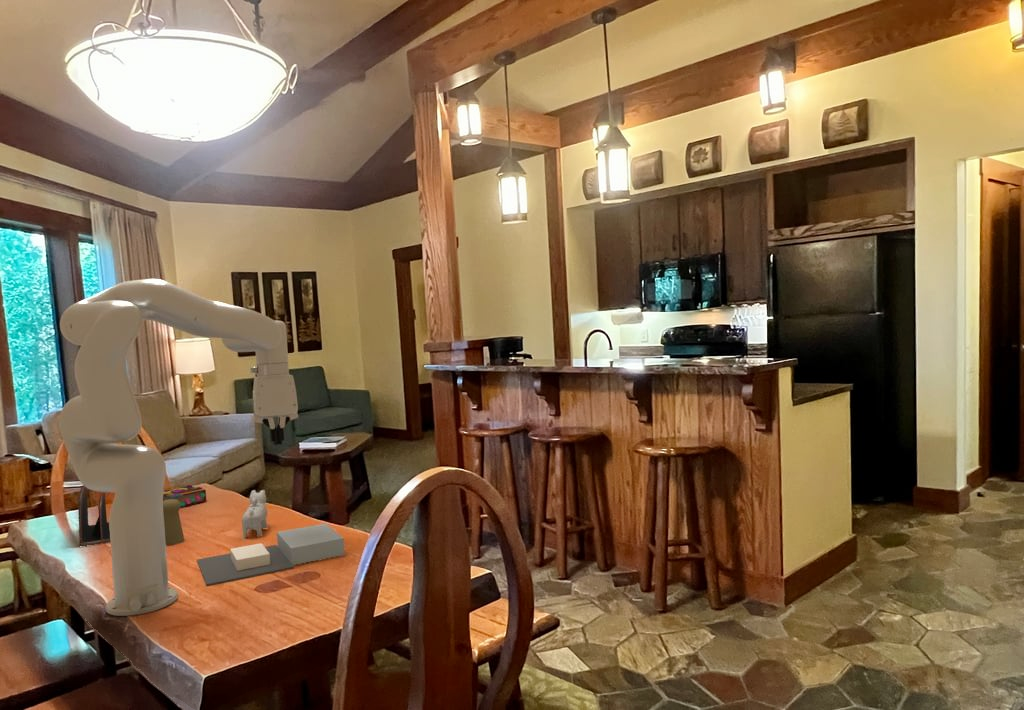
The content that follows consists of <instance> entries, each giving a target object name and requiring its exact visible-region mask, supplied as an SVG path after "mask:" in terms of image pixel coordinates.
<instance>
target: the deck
mask: <svg viewBox="0 0 1024 710" xmlns="http://www.w3.org/2000/svg"><path fill="white" fill-rule="evenodd" d="M276 539H277V541H276V542H277V546H278V548H279V549H280V550H281V551H282V552H283V554H284V555H285V556H286V557H287V559H288V560H289V561H290V562H291V563H292V565H294V566H297V565H296V564H299V565H302V564H301V563H304V564H307V563H306V562H309V563H311V562H310V561H314V562H316V561H315V560H318V561H321V560H320V559H323V560H327V559H326V558H328V559H331V557H333V558H338V557H342V556H345V555H346V554H345V539H344V537H343V536H342V535H341V534H340V533H338V532H337V531H336V530H335V529H333V528H332V527H331V526H329V524H327V523H326V522H325V523H321V524H316V525H309V526H304V527H299V528H297V527H296V528H293V529H287V530H282V531H276ZM337 556H338V557H337Z"/></svg>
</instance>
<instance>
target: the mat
mask: <svg viewBox="0 0 1024 710" xmlns="http://www.w3.org/2000/svg"><path fill="white" fill-rule="evenodd" d="M264 547H265V548H266V550H267V551H268V552H269V554H270V564H269V565H264V566H259V567H254V568H249V569H244V570H239V571H237V569H236V567H235V565H234V564H233V562H232V560H231V552H230V553H225V554H219V555H215V556H209V557H208V556H207V557H204V558H198V559H196V561H197V565H198V568H199V570H200V572H201V575H202V578H203V580H204V583H205V586H206V587H210V586H213V585H214V586H215V585H219V584H224V583H229V582H233V581H239V580H243V579H247V578H248V579H249V578H252V577H257V576H262V575H268V573H269V574H272V573H273V574H274V573H278V572H282V570H283V571H287V570H286V569H288V570H292V569H291V568H293V569H295V565H294V566H293V565H292V563H291V562H290V561H289V560H288V559H287V557H286V556H285V555H284V554H283V552H282V551H281V550H280V549H279V548H278V544H273V545H268V546H264ZM277 571H278V572H277Z"/></svg>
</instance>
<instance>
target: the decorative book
mask: <svg viewBox="0 0 1024 710" xmlns="http://www.w3.org/2000/svg"><path fill="white" fill-rule="evenodd" d="M206 490H207V489H204V488H203V487H201V486H198V487H195V486H193V485H191V484H188V485H186V484H185V485H184V484H183V485H178V486H174V487H168V488H164V490H163V501H165V500H169V499H176V500H178V501H179V502H180V508H181V507H183V508H185V507H188V506H193V505H196V504H197V503H198V504H200V503H201V504H202V503H206V502H207V491H206ZM181 509H182V508H181Z"/></svg>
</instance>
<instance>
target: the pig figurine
mask: <svg viewBox="0 0 1024 710" xmlns="http://www.w3.org/2000/svg"><path fill="white" fill-rule="evenodd" d="M248 499H249V506H248V508H247V509H246V511H245V512H244V513H243V515H242V518H241V526H242V538H243V539H247V538H246V537H248V532H252V531H251V530H254V531H255V530H256V537H257V536H261V535H262V536H263V533H262V529H263V528H268V529H269V527H268V523H267V518H268V509H267V506H266V503H267V495H266V491H265V489H261V490H259V492H257V491H256V489H253V490H251V492H250V495H249V498H248Z"/></svg>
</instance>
